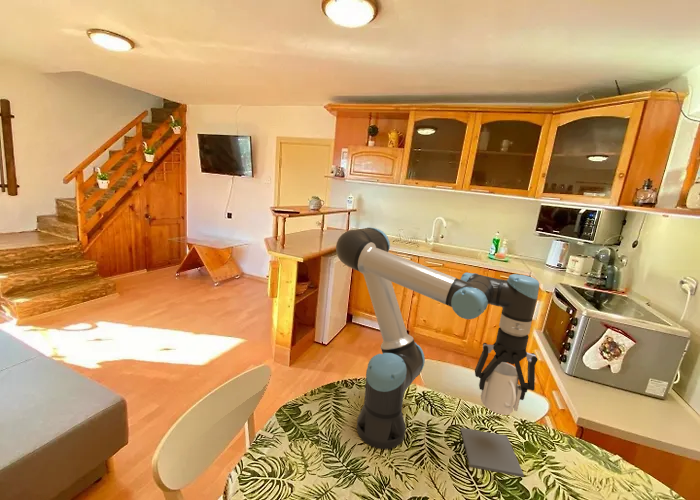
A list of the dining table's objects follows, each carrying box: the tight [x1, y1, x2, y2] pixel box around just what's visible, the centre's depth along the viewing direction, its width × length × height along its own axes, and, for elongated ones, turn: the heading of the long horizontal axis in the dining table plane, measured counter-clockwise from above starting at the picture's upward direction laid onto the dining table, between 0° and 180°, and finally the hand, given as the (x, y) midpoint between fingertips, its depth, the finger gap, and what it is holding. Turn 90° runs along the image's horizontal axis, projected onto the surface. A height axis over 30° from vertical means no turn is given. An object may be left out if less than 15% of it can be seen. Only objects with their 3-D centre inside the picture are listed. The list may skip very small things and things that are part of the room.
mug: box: [481, 362, 519, 416], centre depth 89 cm, size 12×8×12 cm
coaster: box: [460, 427, 525, 478], centre depth 92 cm, size 14×14×1 cm
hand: (498, 403), depth 90 cm, fingers closed on mug, 8 cm apart
